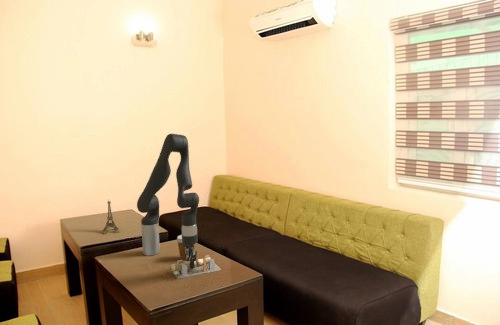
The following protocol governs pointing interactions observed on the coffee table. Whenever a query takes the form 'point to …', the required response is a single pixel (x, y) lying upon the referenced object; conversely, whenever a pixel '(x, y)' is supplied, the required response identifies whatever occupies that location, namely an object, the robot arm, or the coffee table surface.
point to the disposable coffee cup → (181, 248)
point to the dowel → (188, 264)
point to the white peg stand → (196, 268)
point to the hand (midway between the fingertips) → (190, 267)
